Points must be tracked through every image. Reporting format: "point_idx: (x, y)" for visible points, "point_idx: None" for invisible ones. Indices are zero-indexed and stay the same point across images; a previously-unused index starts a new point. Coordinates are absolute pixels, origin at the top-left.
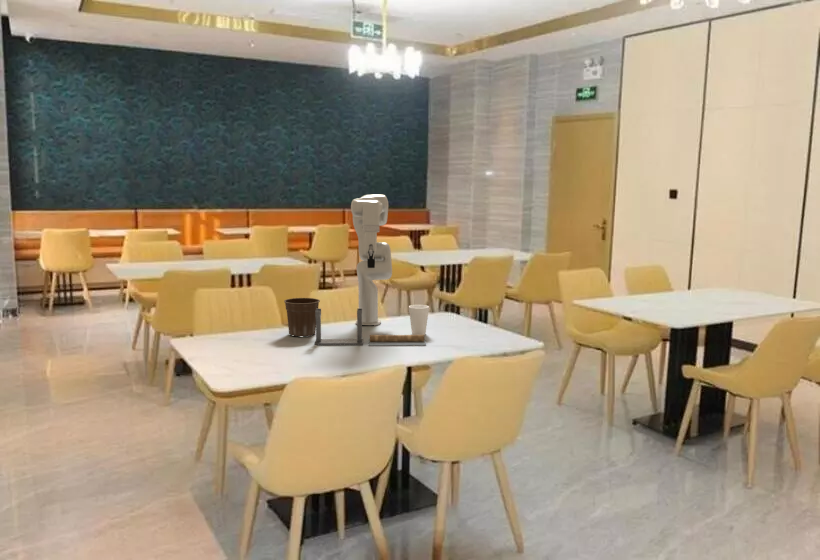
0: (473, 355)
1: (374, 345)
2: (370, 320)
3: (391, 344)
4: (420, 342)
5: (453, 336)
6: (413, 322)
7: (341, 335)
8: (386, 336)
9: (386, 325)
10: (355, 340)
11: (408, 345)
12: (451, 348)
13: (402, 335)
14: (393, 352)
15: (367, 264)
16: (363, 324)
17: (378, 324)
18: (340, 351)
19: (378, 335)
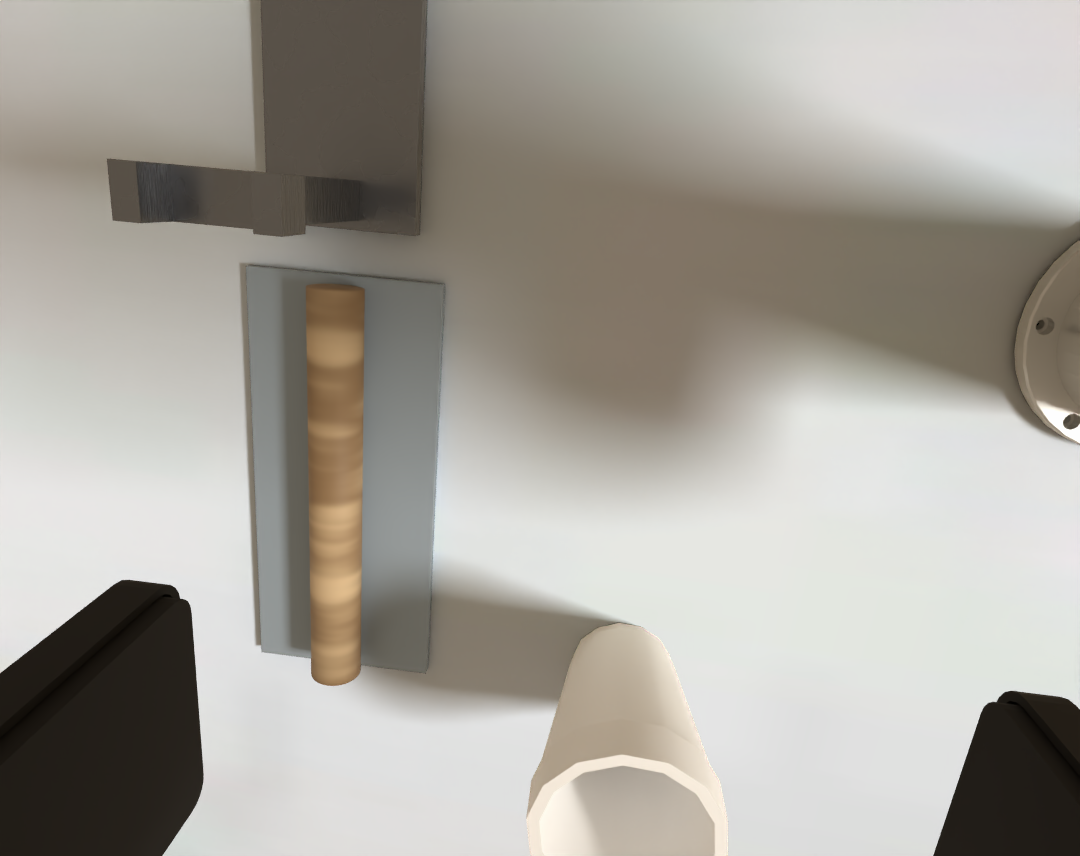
0: None
1: (251, 311)
2: (1073, 356)
3: (254, 436)
4: None
5: (517, 842)
6: (577, 687)
7: (662, 37)
8: (309, 422)
9: (1002, 484)
10: (357, 162)
11: (259, 544)
12: None
13: (317, 542)
14: (76, 423)
15: (37, 646)
16: (1046, 279)
17: (1041, 420)
18: (69, 19)
19: (316, 362)
